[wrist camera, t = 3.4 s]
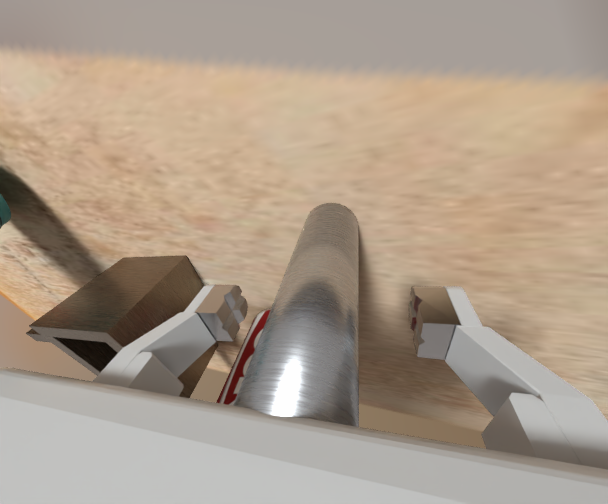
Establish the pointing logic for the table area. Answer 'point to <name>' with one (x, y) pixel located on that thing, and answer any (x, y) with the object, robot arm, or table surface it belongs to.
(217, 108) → the table surface
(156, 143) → the table surface
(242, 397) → the pin
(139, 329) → the grey metal bracket
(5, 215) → the beverage bottle
